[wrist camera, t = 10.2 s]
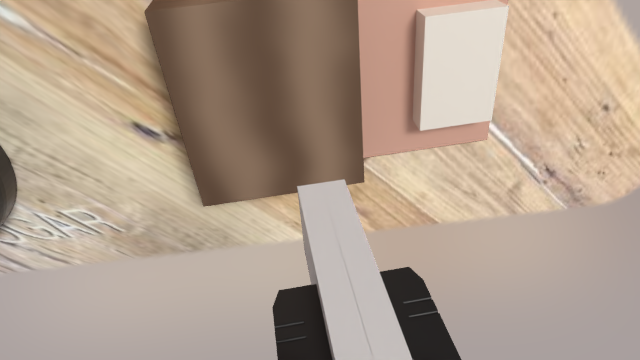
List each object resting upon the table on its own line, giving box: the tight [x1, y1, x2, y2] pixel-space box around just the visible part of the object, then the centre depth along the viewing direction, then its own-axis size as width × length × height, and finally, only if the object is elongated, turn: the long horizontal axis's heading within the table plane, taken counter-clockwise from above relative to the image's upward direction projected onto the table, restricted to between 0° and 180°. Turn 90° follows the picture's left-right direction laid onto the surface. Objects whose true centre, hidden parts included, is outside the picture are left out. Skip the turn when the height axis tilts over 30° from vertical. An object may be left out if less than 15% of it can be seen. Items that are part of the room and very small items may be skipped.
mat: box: [358, 0, 508, 158], centre depth 35 cm, size 12×15×1 cm
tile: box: [413, 0, 509, 131], centre depth 34 cm, size 6×9×2 cm, turn 5°
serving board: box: [145, 0, 364, 206], centre depth 33 cm, size 13×15×4 cm
